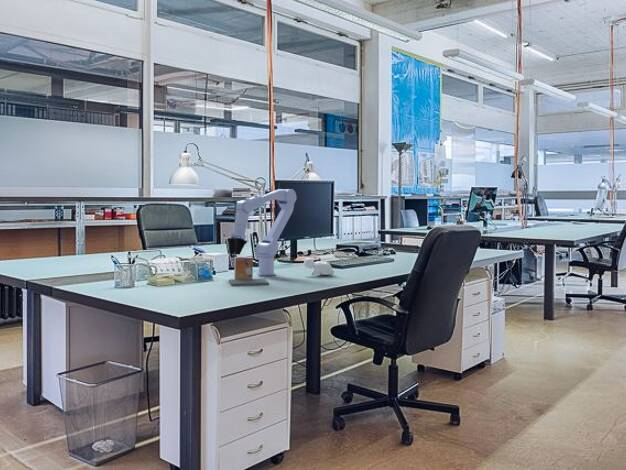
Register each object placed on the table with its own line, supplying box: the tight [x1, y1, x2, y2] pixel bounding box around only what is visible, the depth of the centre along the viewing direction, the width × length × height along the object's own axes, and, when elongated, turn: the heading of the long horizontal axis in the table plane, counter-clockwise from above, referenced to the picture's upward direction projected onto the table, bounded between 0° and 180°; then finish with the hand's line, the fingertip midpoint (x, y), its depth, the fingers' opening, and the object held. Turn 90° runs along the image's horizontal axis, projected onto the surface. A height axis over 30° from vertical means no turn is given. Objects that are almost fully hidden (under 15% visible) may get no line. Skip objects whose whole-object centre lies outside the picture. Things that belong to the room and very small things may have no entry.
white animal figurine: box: [303, 257, 335, 278], centre depth 282 cm, size 9×8×15 cm
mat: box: [228, 278, 270, 287], centre depth 257 cm, size 12×16×1 cm
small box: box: [233, 256, 254, 279], centre depth 266 cm, size 8×6×10 cm
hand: (234, 254), depth 271 cm, fingers open, 7 cm apart
